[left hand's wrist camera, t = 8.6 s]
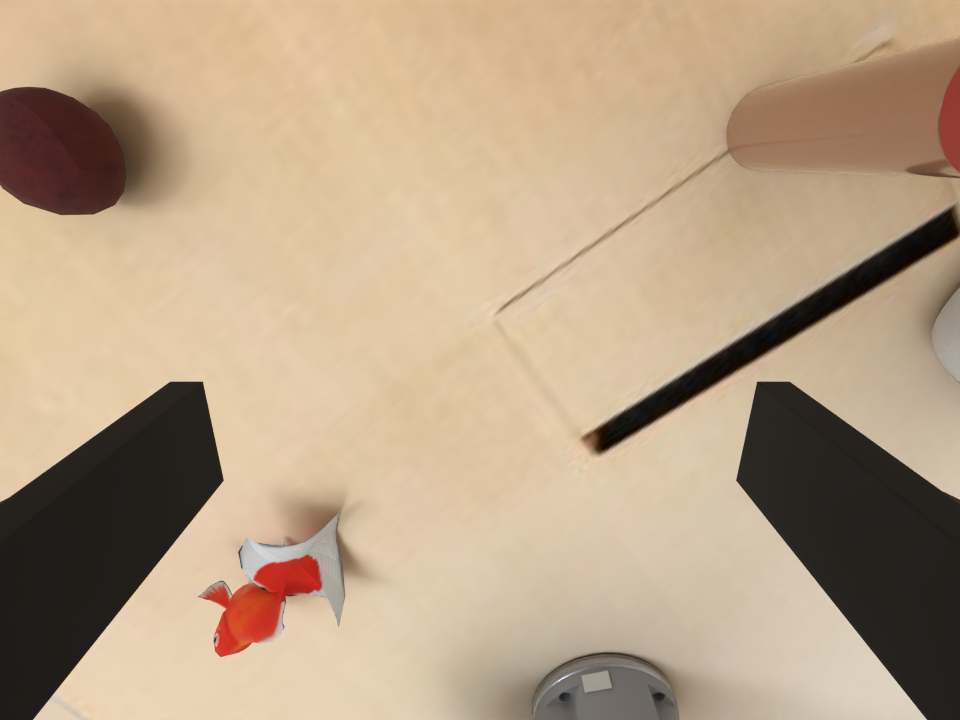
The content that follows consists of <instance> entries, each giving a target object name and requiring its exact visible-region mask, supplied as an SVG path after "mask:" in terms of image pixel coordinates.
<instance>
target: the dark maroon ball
mask: <svg viewBox="0 0 960 720" xmlns="http://www.w3.org/2000/svg"><path fill="white" fill-rule="evenodd" d="M125 179H126V170H125V165H124V159H123V154H122V150H121V148H120V145H119V143H118V141H117V139H116V137H115V135H114V133H113V131H112V129H111V127H110V126H109V125H108V124H107V123H106V122H105V121H104V120H103V119H102V118H101V117H100V116H99V115H98V114H97V113H95V112H94V111H92V110H91V109H89V108H88V107H86V106H85V105H83V104H82V103H80V102H79V101H77V100H76V99H74V98H72V97H70V96H67V95H65V94H62V93H59V92H56V91H53V90H50V89H47V88H37V87H21V88H13V89H9V90H5V91H1V92H0V185H1V187H2V188H3V189H4V190H6V191H7V192H9V193H10V194H11V195H13V196H14V197H15V198H17V199H18V200H20V201H21V202H22V203H24V204H27V205H30V206H33V207H37V208H40V209H43V210H46V211H50V212H53V213H56V214H59V215H85V214H96V213H98V212H100V211H103V210H105V209H107V208H109V207H111V206H113V205H115V204H116V203H117V201H118V200H119V198H120V197H121V195H122V193H123V192H124V186H125Z"/></svg>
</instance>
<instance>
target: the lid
mask: <svg viewBox="0 0 960 720" xmlns="http://www.w3.org/2000/svg"><path fill="white" fill-rule="evenodd" d="M939 133H940V141H941V145H942V149H943V152H944V154H945V157H946V158H947V160H948V161H949V163H950V164H951V165H952V166H953V168H954V169H955V170H956V171H958V172H959V173H960V68H959V69H958V71H957V72H956V74H955V75H954V77H953V79H952V81H951V83H950V85H949V87H948V90H947V92H946V95H945V97H944V101H943V104H942V108H941V114H940V120H939Z"/></svg>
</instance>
